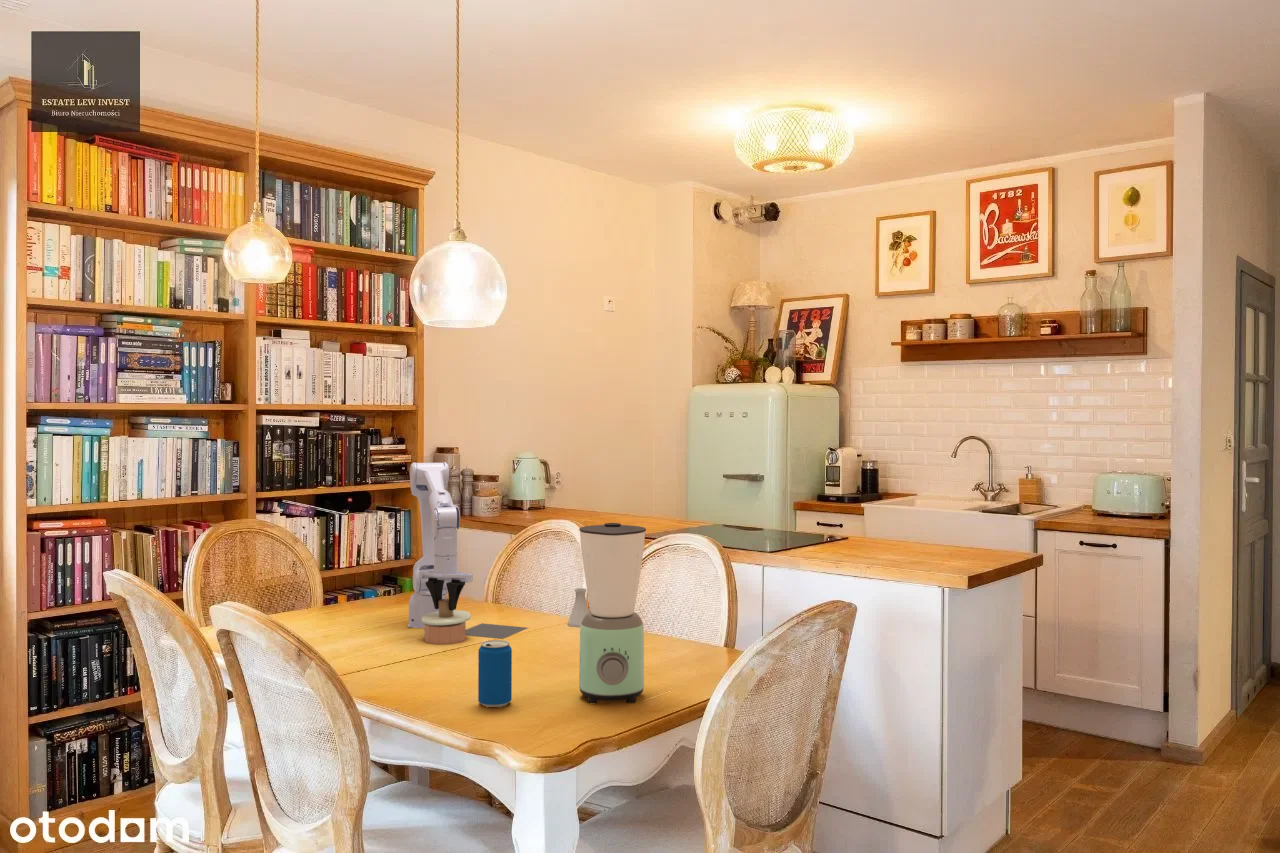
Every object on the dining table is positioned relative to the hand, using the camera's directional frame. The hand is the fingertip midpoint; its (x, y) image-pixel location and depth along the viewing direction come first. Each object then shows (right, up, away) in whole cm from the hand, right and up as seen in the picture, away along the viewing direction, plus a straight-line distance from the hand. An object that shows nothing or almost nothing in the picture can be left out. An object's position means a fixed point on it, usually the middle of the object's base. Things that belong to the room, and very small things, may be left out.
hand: (445, 609), depth 249 cm
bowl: (0, -8, 0) cm, 8 cm away
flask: (+33, -8, +19) cm, 39 cm away
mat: (+10, -8, +10) cm, 16 cm away
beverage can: (+20, -9, -54) cm, 58 cm away
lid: (0, -3, 0) cm, 3 cm away
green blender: (+43, -9, -47) cm, 64 cm away
